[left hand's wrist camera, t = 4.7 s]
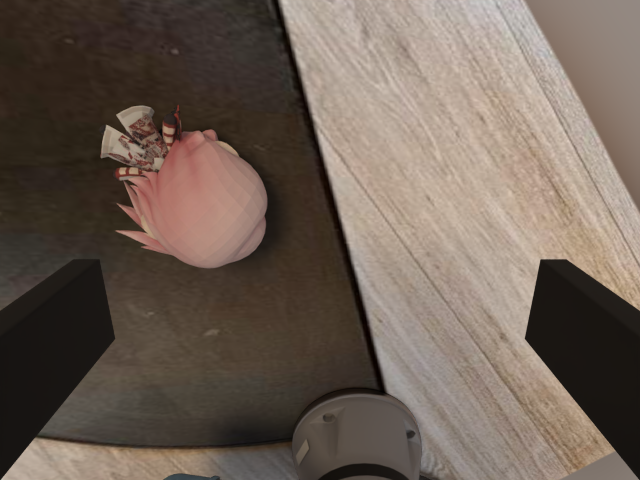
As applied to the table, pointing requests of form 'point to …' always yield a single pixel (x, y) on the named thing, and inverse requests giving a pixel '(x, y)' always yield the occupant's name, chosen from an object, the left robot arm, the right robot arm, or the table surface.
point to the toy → (187, 190)
